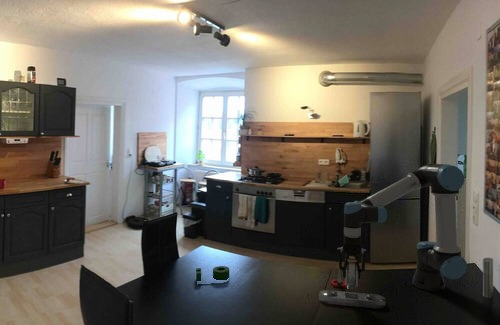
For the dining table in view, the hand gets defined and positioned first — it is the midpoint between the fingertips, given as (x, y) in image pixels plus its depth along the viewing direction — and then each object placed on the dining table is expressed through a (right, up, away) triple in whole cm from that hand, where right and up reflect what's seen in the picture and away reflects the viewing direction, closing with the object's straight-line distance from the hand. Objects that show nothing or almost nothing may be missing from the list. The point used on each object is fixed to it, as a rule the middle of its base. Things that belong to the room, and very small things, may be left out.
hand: (351, 284), depth 159 cm
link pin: (0, -2, 0) cm, 2 cm away
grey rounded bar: (0, -8, 0) cm, 8 cm away
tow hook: (0, -8, +21) cm, 22 cm away
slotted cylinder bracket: (-68, -8, +26) cm, 73 cm away
